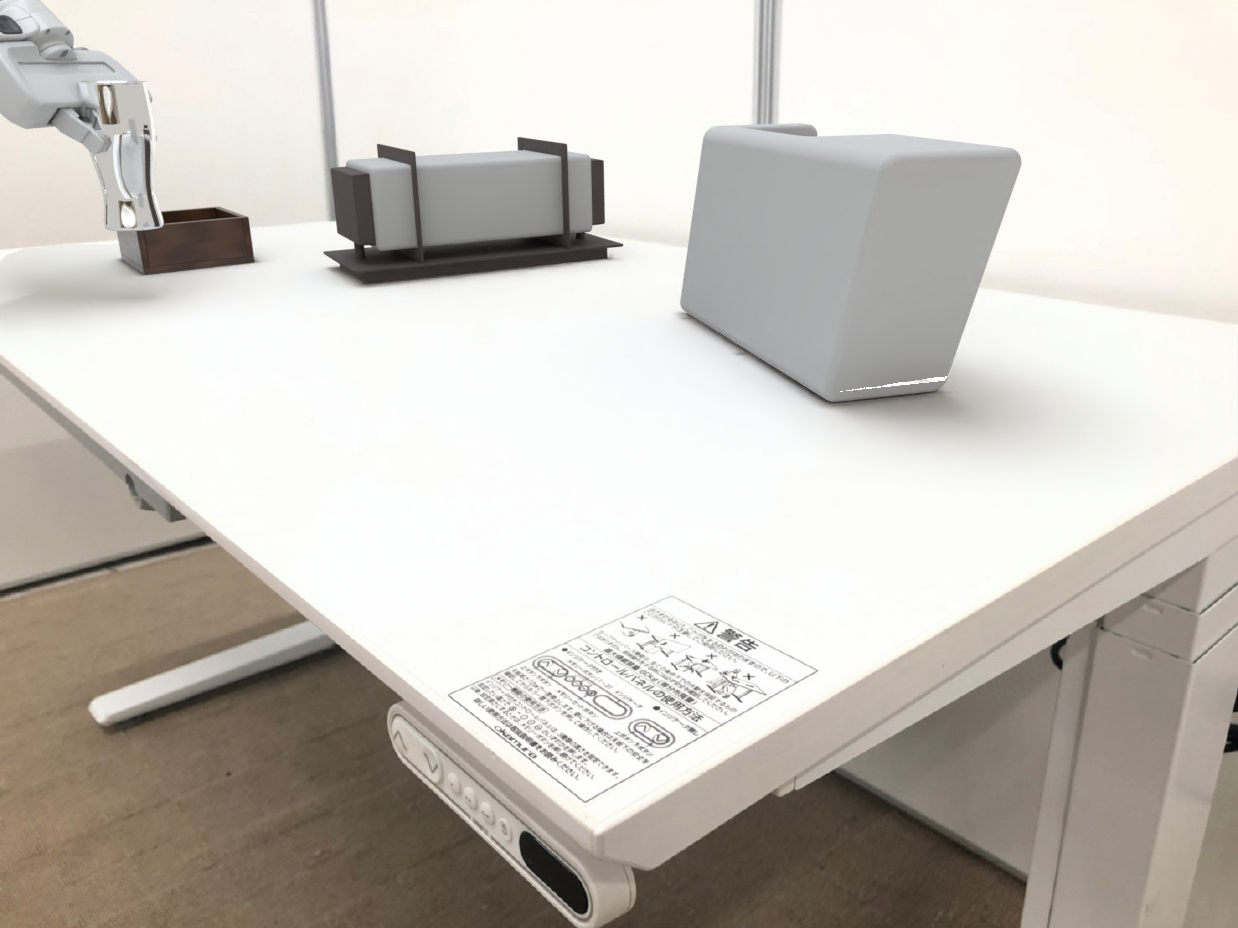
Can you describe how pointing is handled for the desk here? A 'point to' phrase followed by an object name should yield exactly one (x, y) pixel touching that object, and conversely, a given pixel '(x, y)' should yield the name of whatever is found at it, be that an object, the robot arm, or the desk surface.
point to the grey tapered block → (843, 251)
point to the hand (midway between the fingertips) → (127, 146)
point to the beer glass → (124, 152)
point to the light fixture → (468, 211)
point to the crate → (189, 241)
